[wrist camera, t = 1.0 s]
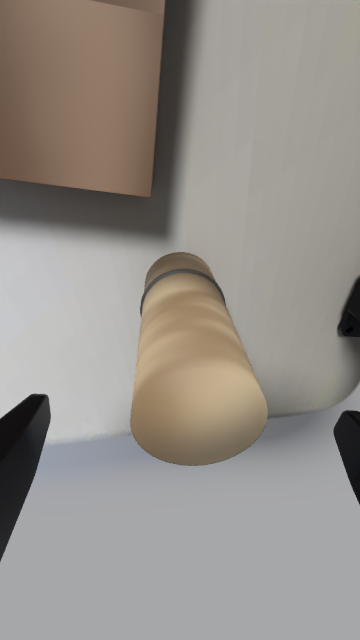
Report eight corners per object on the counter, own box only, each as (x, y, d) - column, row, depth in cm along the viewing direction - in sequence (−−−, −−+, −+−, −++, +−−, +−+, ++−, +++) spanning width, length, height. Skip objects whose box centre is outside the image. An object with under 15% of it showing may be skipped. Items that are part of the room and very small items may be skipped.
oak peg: (221, 254, 16) (290, 371, 8) (208, 319, 19) (251, 468, 10) (146, 246, 16) (130, 361, 7) (141, 314, 18) (124, 466, 9)
